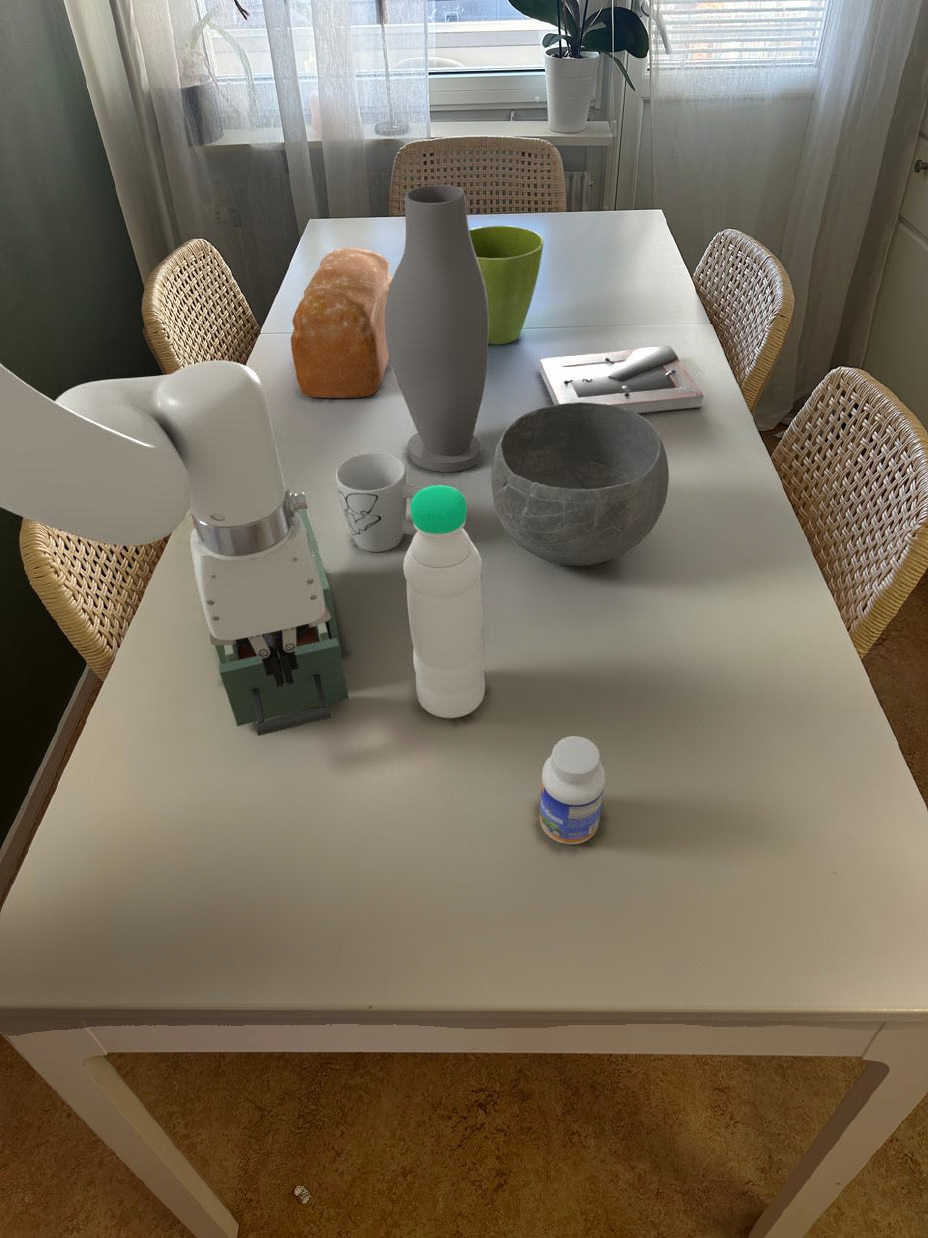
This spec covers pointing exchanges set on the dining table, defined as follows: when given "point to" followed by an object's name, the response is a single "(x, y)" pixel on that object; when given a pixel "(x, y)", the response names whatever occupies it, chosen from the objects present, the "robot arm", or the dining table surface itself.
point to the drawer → (285, 686)
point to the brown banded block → (306, 639)
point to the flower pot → (507, 276)
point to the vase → (439, 329)
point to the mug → (375, 499)
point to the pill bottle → (572, 791)
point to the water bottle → (445, 604)
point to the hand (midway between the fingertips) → (283, 674)
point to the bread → (342, 326)
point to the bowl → (579, 481)
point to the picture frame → (623, 380)
